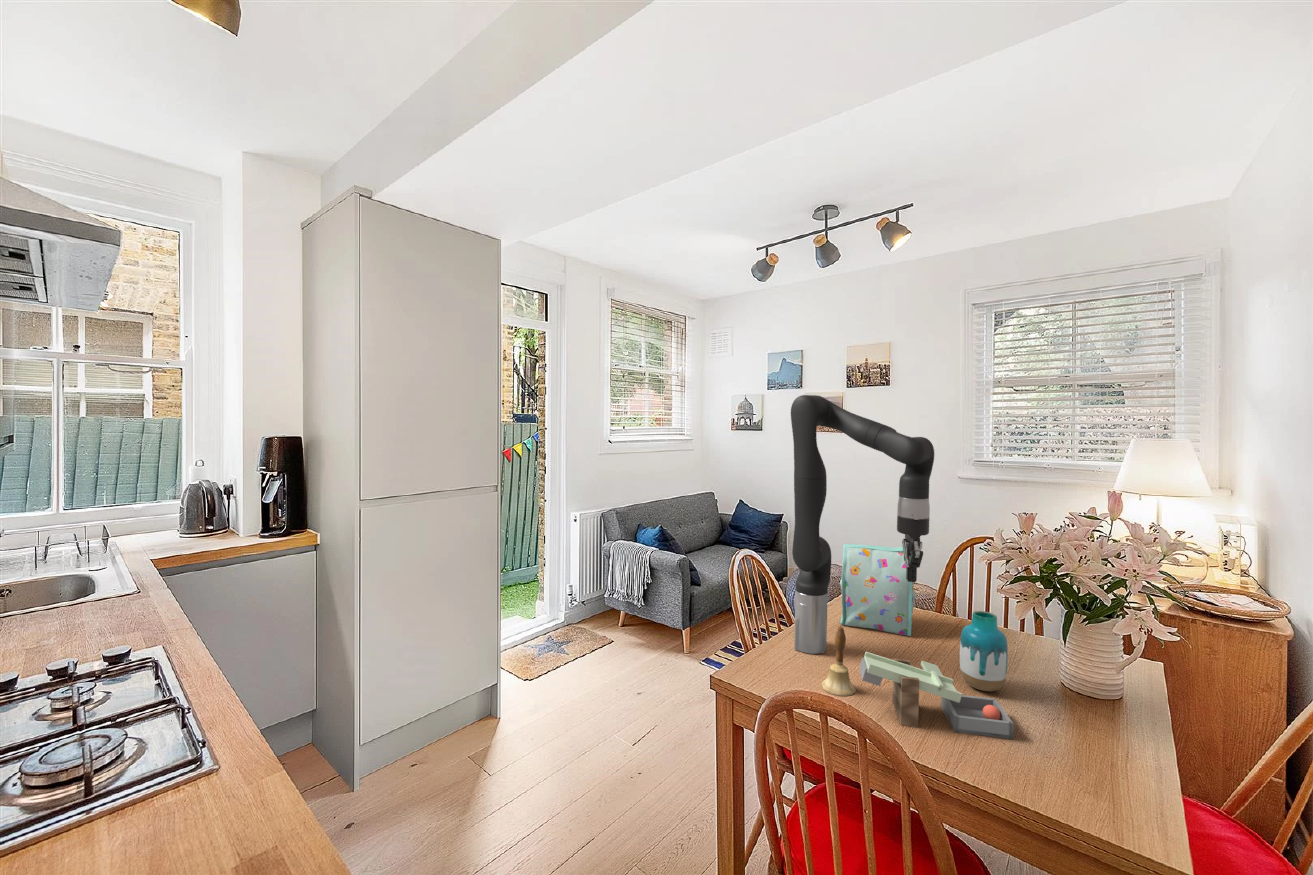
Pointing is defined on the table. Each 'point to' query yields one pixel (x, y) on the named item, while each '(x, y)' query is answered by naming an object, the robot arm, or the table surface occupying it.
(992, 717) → the ball
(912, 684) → the fulcrum
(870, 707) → the table surface
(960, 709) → the tray
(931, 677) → the lever
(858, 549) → the lunch bag
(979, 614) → the vase
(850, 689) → the hand bell
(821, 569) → the robot arm
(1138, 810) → the table surface
